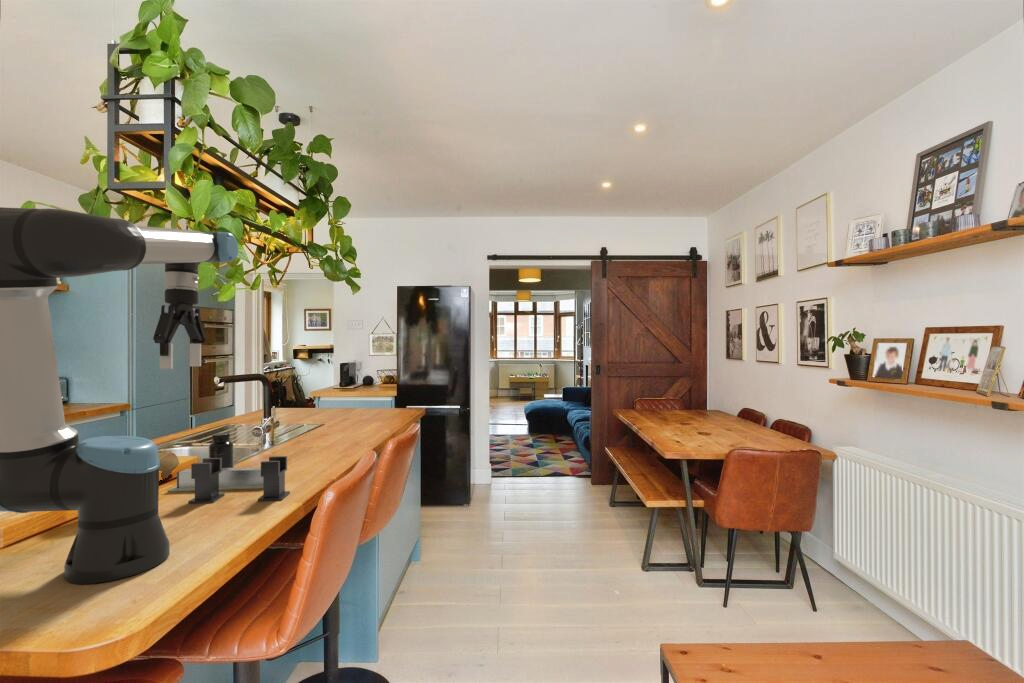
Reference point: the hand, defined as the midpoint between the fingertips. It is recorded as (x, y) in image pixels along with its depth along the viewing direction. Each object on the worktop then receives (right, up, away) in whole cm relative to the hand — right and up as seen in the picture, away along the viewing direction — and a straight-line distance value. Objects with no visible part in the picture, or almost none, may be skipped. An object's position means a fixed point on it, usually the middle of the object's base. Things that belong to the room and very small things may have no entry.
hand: (181, 367), depth 130 cm
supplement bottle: (-5, -35, +25) cm, 44 cm away
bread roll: (-18, -35, +16) cm, 43 cm away
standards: (+17, -35, -2) cm, 39 cm away
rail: (+7, -34, +9) cm, 36 cm away
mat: (+7, -35, +9) cm, 36 cm away
